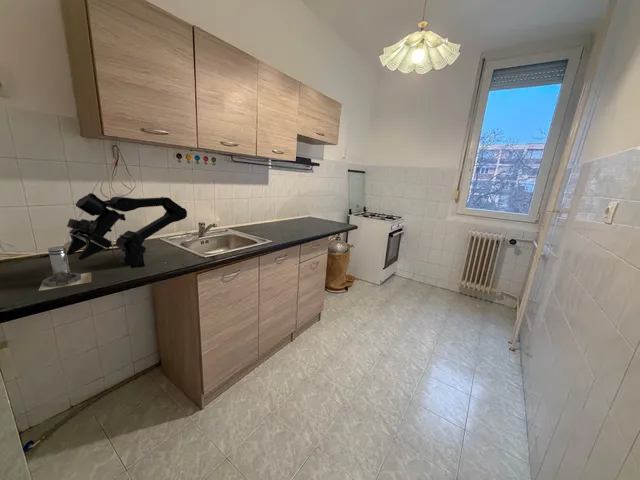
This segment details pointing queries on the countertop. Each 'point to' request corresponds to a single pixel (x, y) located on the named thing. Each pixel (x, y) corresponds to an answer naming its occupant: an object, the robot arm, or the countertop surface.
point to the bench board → (84, 279)
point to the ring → (51, 284)
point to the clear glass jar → (59, 263)
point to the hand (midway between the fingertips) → (73, 257)
